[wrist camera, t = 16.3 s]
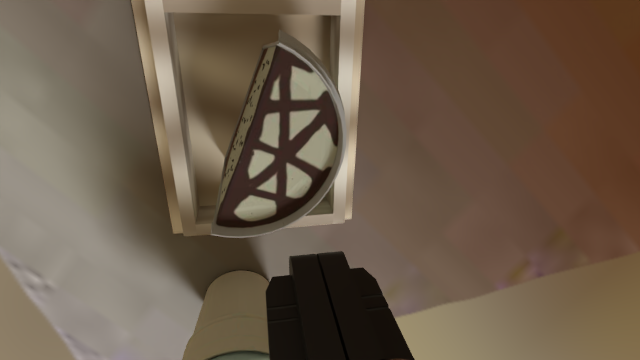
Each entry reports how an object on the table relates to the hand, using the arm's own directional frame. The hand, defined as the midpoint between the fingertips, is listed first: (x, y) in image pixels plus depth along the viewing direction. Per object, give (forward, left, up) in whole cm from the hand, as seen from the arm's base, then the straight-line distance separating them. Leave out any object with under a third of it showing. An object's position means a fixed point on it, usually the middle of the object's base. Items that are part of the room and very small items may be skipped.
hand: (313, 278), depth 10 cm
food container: (+1, +1, -21) cm, 21 cm away
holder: (+1, -1, -21) cm, 21 cm away
